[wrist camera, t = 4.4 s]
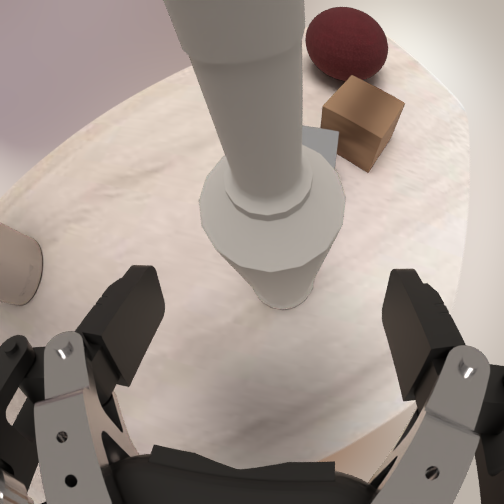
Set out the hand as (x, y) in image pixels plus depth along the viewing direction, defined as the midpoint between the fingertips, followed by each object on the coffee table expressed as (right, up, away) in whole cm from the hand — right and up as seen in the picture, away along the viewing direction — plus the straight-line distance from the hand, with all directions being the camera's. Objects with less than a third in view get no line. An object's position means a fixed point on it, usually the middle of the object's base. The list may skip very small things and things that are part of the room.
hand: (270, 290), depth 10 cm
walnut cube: (+11, +13, +19) cm, 26 cm away
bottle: (+2, -1, +16) cm, 17 cm away
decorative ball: (+11, +24, +22) cm, 35 cm away
